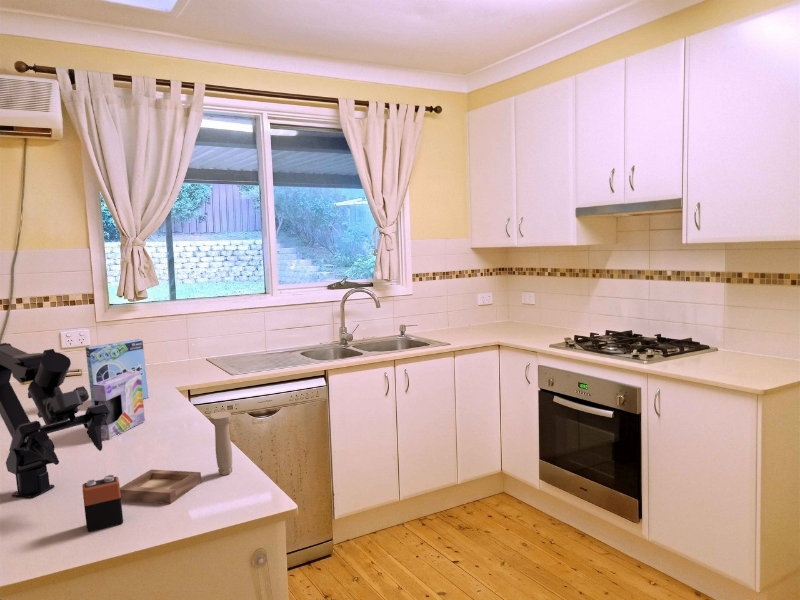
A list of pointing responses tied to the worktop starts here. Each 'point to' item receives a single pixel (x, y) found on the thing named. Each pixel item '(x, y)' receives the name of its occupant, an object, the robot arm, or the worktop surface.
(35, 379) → the robot arm
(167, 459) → the worktop surface
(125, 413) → the cake pan box
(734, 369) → the worktop surface
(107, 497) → the battery
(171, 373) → the worktop surface
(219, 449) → the handle
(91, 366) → the light blue flat box
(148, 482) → the brown wooden flat tray
